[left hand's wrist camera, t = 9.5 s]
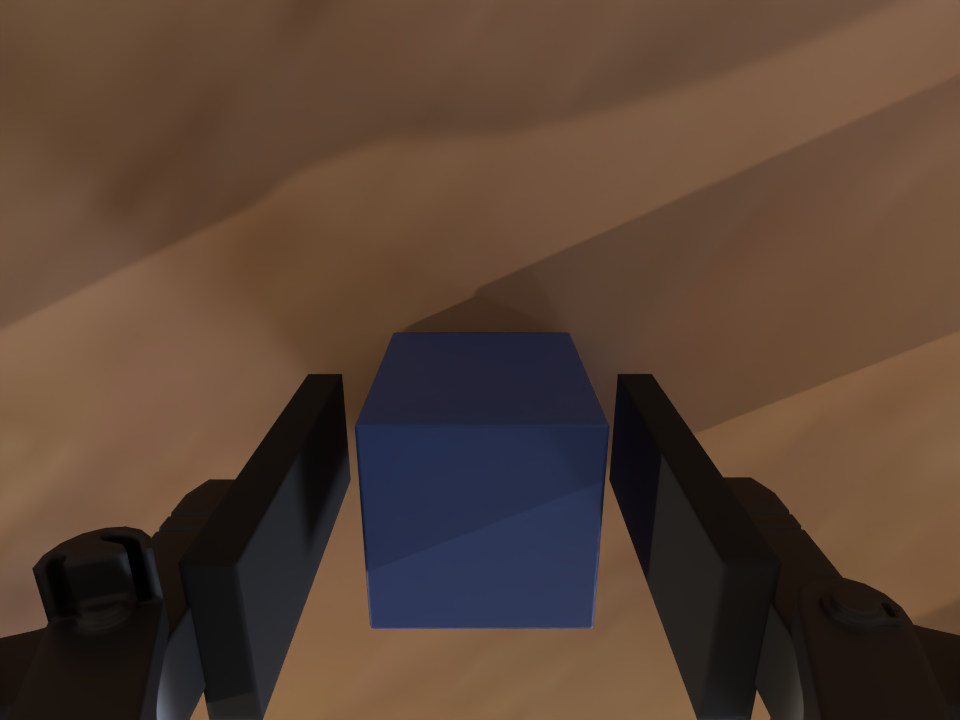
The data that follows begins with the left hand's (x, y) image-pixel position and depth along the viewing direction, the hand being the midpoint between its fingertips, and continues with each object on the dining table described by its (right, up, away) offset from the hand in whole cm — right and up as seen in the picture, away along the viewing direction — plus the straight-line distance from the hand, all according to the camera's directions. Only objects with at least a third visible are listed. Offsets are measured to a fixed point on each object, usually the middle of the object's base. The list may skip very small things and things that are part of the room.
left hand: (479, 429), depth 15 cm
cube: (0, 0, +1) cm, 1 cm away
